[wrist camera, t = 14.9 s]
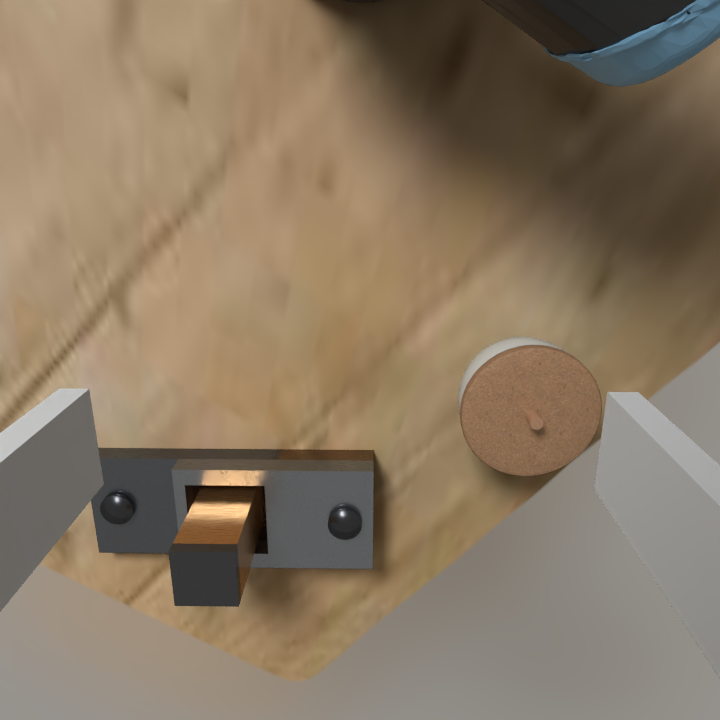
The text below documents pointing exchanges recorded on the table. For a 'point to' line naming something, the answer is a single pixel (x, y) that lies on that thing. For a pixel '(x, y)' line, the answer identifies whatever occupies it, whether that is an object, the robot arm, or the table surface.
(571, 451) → the lidded jar
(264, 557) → the slotted plate with knobs
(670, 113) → the table surface
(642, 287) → the table surface
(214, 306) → the table surface
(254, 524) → the square wooden peg
